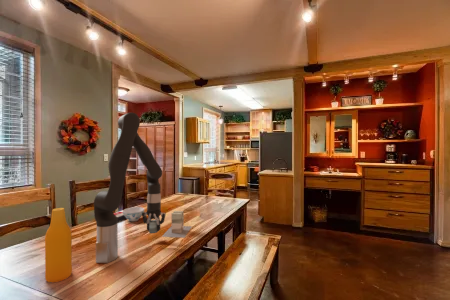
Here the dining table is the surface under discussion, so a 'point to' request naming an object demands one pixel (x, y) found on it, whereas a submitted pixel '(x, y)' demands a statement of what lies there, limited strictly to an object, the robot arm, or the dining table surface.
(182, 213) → the top block
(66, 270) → the beer bottle
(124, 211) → the chinaware
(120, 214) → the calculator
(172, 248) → the dining table surface
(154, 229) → the cylinder
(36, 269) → the dining table surface
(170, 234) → the tower board
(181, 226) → the base block
